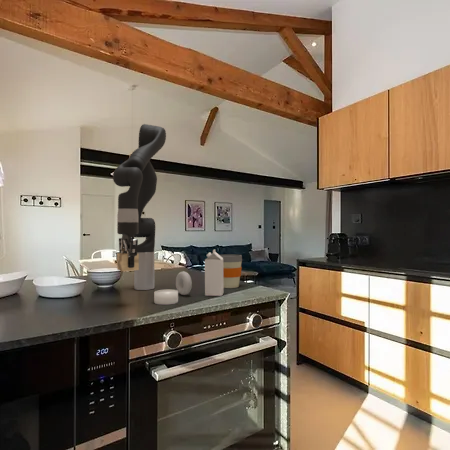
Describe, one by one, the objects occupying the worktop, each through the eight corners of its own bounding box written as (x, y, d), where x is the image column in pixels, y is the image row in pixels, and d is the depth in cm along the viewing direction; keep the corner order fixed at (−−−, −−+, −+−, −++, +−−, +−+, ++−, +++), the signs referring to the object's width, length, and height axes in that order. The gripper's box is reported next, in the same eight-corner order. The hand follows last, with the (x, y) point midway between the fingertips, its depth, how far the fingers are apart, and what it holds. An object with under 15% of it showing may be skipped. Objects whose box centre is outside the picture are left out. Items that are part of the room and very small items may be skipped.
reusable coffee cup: (214, 288, 159) (214, 256, 159) (219, 284, 171) (218, 254, 172) (240, 289, 157) (240, 256, 157) (243, 284, 169) (243, 254, 170)
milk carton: (223, 292, 148) (223, 249, 148) (221, 296, 141) (221, 250, 141) (207, 292, 148) (207, 249, 149) (204, 296, 141) (204, 250, 142)
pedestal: (150, 301, 131) (150, 291, 131) (171, 298, 136) (171, 288, 136) (160, 305, 124) (160, 294, 124) (182, 302, 129) (182, 291, 129)
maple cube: (117, 269, 127) (117, 253, 127) (132, 268, 130) (132, 252, 130) (122, 271, 122) (122, 254, 122) (138, 270, 125) (138, 253, 125)
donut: (193, 296, 141) (193, 272, 141) (186, 297, 139) (186, 272, 139) (181, 292, 149) (180, 269, 149) (174, 293, 147) (173, 270, 147)
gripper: (145, 221, 122) (145, 268, 122) (131, 221, 134) (131, 264, 134) (124, 221, 118) (124, 269, 118) (111, 221, 130) (111, 265, 130)
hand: (127, 266), depth 126 cm, fingers closed on maple cube, 6 cm apart
